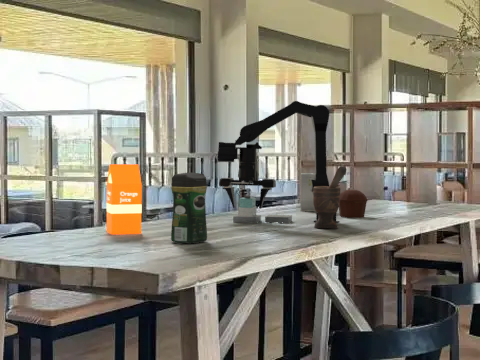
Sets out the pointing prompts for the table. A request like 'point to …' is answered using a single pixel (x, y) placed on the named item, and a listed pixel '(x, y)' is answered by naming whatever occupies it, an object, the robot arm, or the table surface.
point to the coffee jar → (189, 208)
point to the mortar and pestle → (328, 201)
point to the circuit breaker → (306, 192)
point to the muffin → (352, 204)
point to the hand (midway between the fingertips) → (247, 208)
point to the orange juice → (124, 199)
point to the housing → (247, 207)
